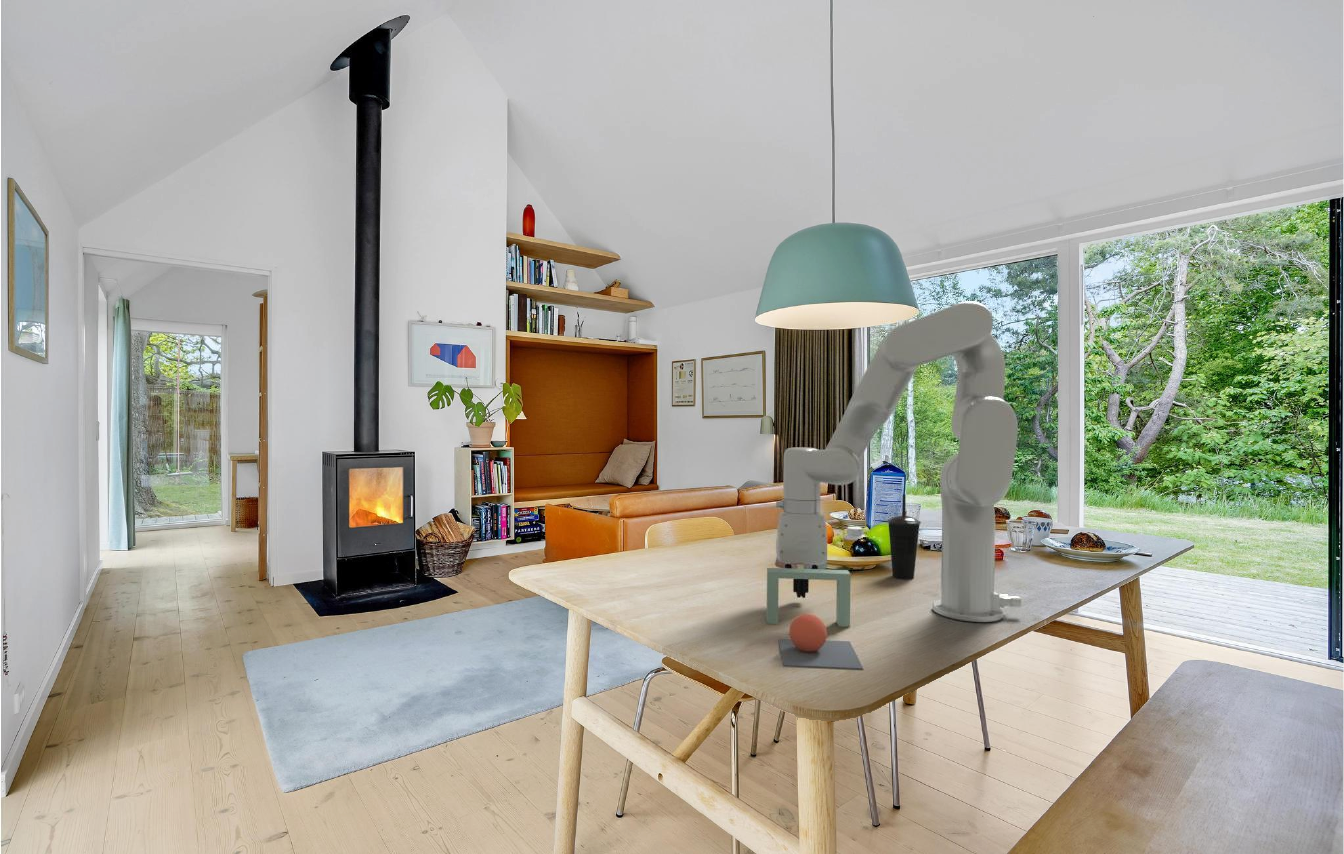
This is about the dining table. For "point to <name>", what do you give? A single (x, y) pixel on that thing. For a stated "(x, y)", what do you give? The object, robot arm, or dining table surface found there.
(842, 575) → the bridge
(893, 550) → the drinking cup
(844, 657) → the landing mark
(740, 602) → the dining table surface
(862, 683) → the dining table surface
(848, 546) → the supplement bottle
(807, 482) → the robot arm
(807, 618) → the ball
